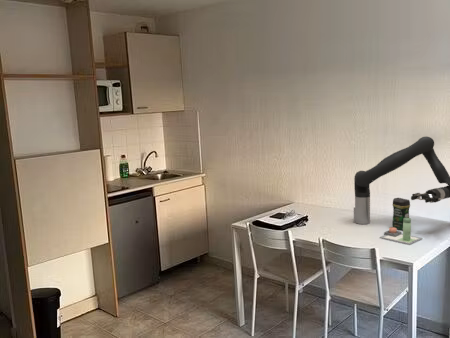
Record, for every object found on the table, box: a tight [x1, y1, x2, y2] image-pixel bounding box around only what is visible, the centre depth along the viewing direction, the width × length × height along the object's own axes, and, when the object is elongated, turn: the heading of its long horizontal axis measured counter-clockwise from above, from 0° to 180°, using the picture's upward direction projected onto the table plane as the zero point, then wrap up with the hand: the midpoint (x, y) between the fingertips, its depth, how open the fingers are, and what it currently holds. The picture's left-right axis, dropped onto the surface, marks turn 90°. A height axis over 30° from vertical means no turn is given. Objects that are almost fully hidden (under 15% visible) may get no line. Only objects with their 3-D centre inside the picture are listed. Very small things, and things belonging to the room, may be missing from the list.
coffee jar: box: [391, 197, 411, 231], centre depth 268 cm, size 10×8×19 cm
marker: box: [402, 217, 412, 241], centre depth 245 cm, size 4×4×12 cm
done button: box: [388, 226, 398, 233], centre depth 256 cm, size 4×4×2 cm
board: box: [379, 230, 423, 246], centre depth 250 cm, size 18×14×2 cm
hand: (418, 199), depth 249 cm, fingers open, 8 cm apart
